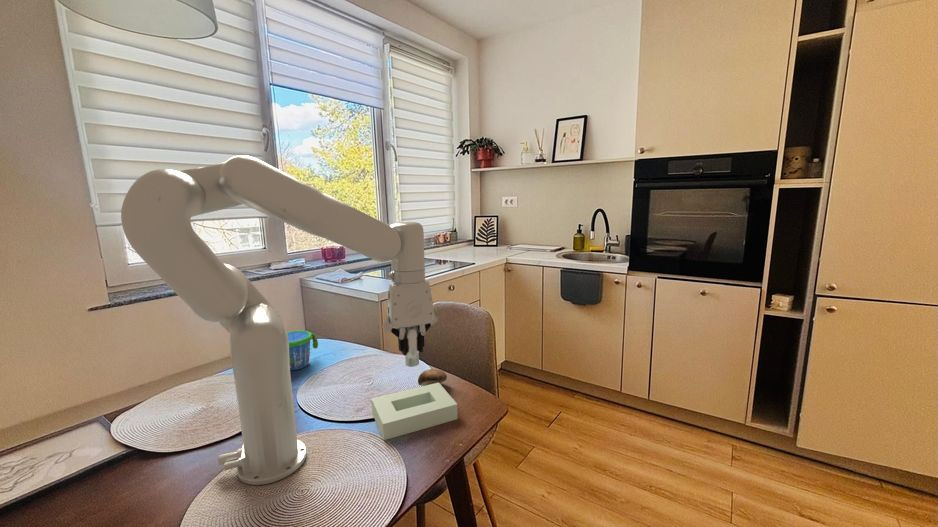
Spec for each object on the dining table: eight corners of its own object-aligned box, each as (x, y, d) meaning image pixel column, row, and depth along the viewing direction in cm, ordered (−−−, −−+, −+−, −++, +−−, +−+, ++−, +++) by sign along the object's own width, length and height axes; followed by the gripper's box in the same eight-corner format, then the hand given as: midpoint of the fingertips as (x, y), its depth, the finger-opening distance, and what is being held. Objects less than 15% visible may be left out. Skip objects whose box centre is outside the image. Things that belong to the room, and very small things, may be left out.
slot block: (383, 440, 85) (382, 424, 84) (372, 413, 96) (371, 398, 95) (457, 419, 93) (457, 404, 92) (439, 396, 103) (438, 382, 103)
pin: (407, 367, 90) (406, 327, 88) (403, 362, 92) (402, 323, 91) (420, 365, 91) (419, 324, 89) (416, 359, 94) (415, 320, 92)
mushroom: (441, 388, 101) (436, 364, 104) (415, 396, 103) (411, 372, 106) (453, 389, 108) (448, 367, 111) (428, 396, 110) (424, 374, 113)
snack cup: (279, 380, 113) (276, 347, 111) (263, 370, 120) (260, 339, 118) (327, 362, 125) (325, 332, 123) (310, 354, 132) (308, 325, 130)
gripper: (376, 283, 81) (381, 364, 84) (448, 275, 88) (449, 350, 91) (369, 277, 88) (373, 352, 91) (436, 270, 95) (438, 340, 98)
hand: (411, 350), depth 91 cm, fingers closed on pin, 3 cm apart
